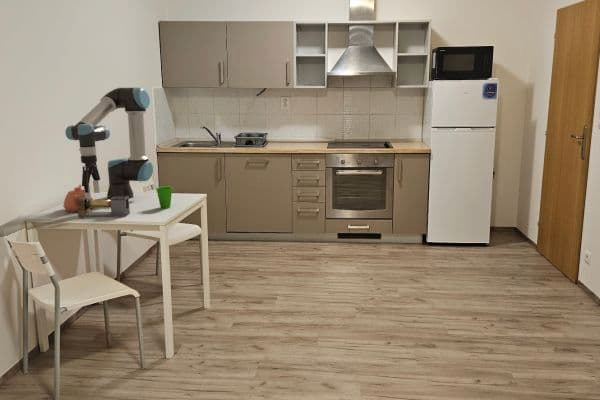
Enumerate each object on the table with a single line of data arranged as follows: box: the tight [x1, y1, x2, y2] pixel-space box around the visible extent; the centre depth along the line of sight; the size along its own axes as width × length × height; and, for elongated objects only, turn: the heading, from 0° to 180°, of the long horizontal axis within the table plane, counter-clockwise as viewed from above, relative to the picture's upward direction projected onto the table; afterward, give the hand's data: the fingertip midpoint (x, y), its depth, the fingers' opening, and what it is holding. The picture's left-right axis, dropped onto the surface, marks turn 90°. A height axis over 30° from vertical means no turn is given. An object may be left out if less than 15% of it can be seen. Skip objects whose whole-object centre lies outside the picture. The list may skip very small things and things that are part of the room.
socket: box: [77, 195, 91, 218], centre depth 283 cm, size 8×3×10 cm, turn 2°
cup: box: [155, 186, 174, 210], centre depth 300 cm, size 9×9×11 cm
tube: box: [84, 199, 111, 209], centre depth 283 cm, size 5×16×5 cm, turn 92°
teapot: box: [63, 184, 94, 213], centre depth 297 cm, size 22×15×12 cm
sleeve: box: [109, 196, 131, 216], centre depth 284 cm, size 7×8×9 cm
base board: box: [81, 211, 129, 218], centre depth 284 cm, size 8×24×1 cm, turn 92°
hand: (92, 195), depth 283 cm, fingers open, 13 cm apart
